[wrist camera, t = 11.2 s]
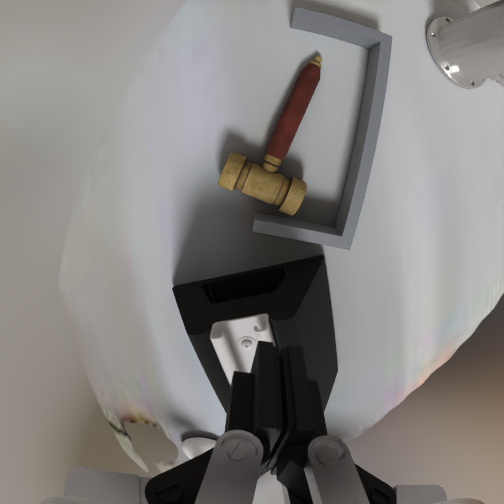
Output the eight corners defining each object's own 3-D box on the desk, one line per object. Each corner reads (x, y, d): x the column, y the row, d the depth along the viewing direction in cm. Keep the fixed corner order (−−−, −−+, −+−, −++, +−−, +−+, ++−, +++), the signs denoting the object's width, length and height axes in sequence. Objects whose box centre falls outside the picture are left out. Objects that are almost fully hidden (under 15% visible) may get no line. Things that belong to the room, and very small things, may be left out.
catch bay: (380, 44, 29) (392, 36, 25) (341, 239, 39) (349, 249, 35) (292, 18, 28) (295, 7, 24) (253, 222, 39) (252, 231, 35)
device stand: (322, 253, 40) (351, 312, 26) (336, 366, 48) (354, 431, 34) (174, 285, 43) (140, 347, 29) (218, 386, 51) (207, 450, 37)
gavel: (284, 34, 27) (359, 69, 28) (281, 47, 31) (348, 78, 32) (215, 186, 33) (294, 219, 34) (219, 183, 37) (289, 212, 38)
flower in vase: (185, 428, 57) (165, 519, 34) (232, 439, 58) (224, 530, 34) (179, 450, 61) (162, 528, 38) (221, 459, 62) (212, 538, 39)
